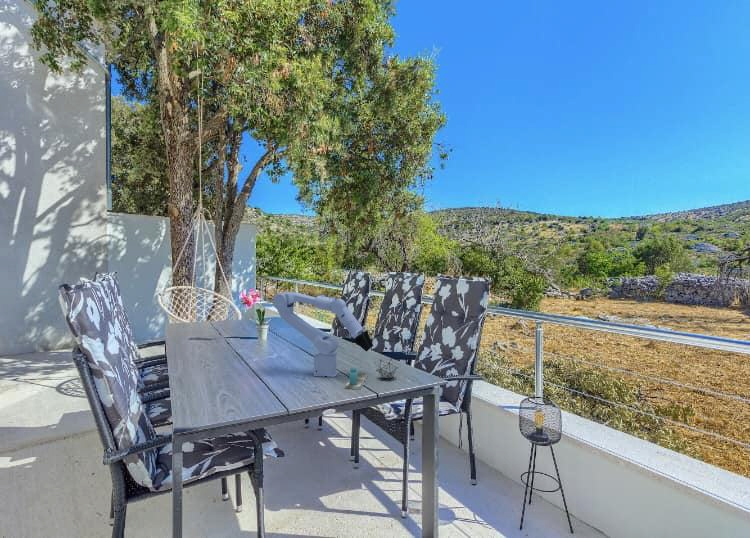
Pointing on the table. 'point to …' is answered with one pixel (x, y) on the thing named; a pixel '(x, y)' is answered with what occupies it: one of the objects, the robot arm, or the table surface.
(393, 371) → the game die
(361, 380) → the board
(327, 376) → the robot arm
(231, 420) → the table surface
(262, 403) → the table surface
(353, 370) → the pawn
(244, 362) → the table surface
